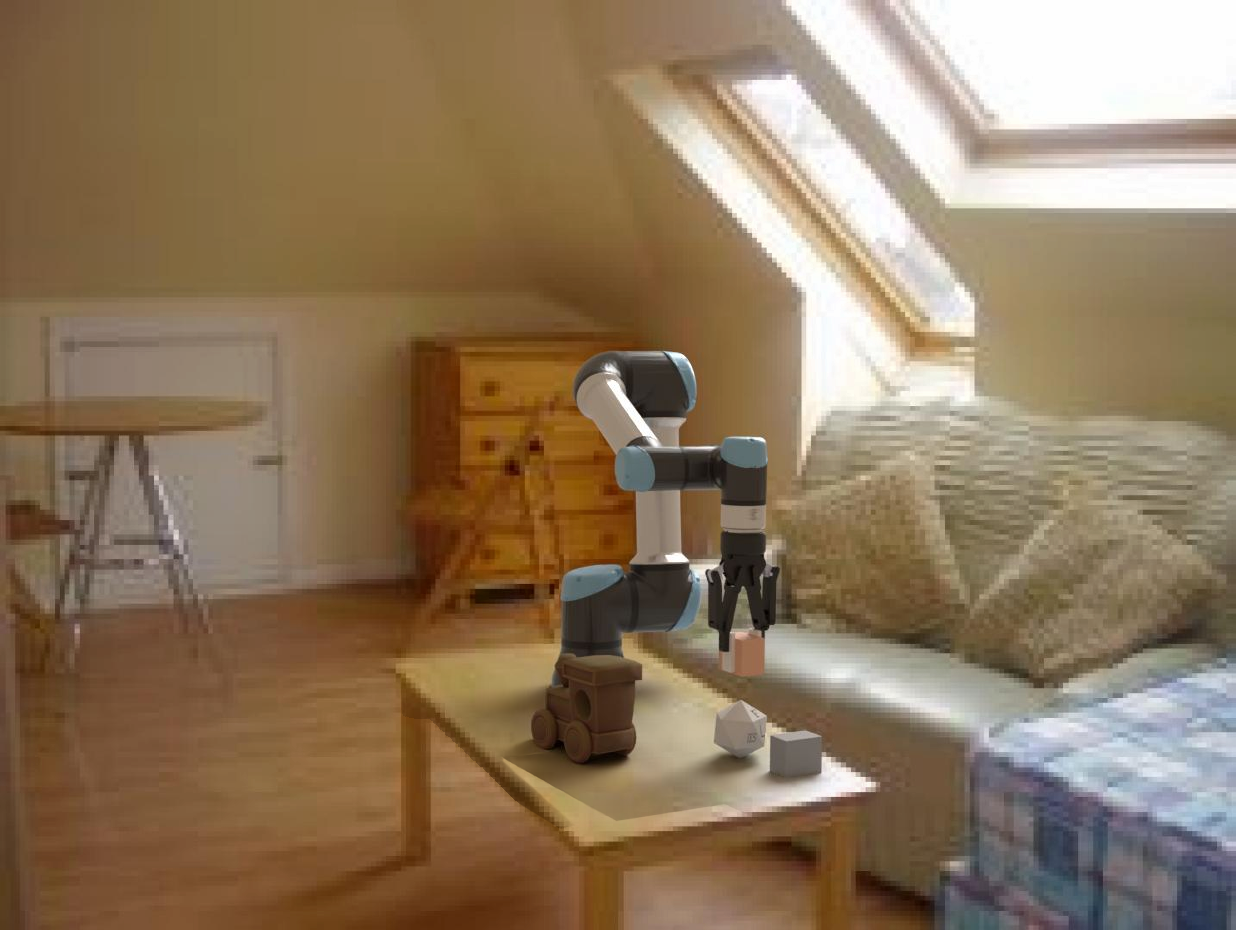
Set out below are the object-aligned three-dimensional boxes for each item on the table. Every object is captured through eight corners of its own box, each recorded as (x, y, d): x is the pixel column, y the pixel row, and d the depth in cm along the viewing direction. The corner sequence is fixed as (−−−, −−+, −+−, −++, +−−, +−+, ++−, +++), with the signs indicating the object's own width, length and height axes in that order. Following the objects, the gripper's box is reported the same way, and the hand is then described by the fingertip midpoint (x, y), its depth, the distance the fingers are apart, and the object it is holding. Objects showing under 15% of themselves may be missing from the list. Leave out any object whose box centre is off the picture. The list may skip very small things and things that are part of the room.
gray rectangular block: (769, 771, 244) (770, 735, 243) (805, 766, 247) (805, 730, 247) (785, 778, 240) (786, 741, 239) (821, 773, 243) (822, 736, 243)
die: (752, 768, 245) (753, 708, 245) (704, 760, 250) (704, 701, 250) (775, 757, 253) (776, 698, 252) (728, 749, 257) (728, 692, 257)
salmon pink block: (718, 669, 252) (718, 633, 252) (741, 666, 255) (741, 631, 254) (741, 676, 246) (742, 640, 246) (764, 674, 248) (764, 638, 248)
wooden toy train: (646, 761, 249) (647, 662, 248) (589, 771, 243) (590, 669, 242) (579, 736, 266) (580, 643, 265) (524, 745, 259) (525, 649, 258)
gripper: (710, 534, 241) (708, 678, 243) (800, 529, 250) (797, 669, 251) (686, 530, 248) (684, 670, 249) (774, 525, 256) (772, 661, 258)
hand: (741, 669), depth 250 cm, fingers closed on salmon pink block, 4 cm apart
